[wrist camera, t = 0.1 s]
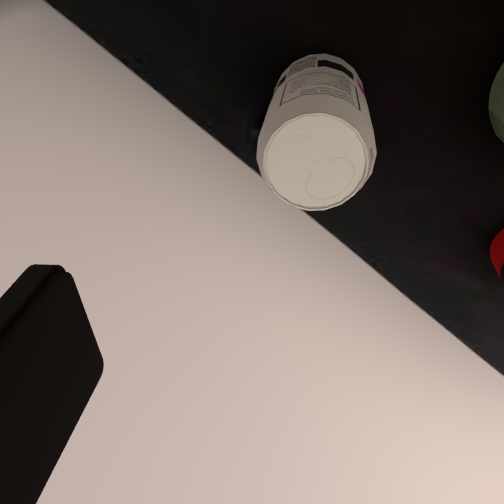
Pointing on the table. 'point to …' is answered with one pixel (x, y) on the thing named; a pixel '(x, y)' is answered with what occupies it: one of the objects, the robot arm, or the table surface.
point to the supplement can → (317, 134)
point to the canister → (497, 104)
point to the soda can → (498, 254)
